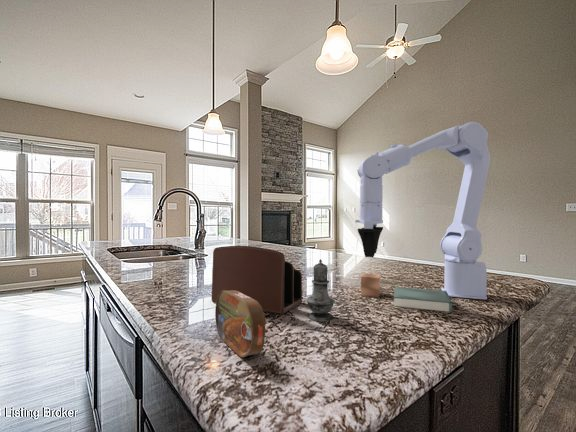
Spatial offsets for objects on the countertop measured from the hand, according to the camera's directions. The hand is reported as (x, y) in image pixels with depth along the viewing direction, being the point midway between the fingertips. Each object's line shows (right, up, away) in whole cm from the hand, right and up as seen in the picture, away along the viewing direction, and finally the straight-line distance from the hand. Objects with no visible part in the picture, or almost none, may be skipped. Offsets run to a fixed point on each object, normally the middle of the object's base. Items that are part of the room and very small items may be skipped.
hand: (370, 254), depth 82 cm
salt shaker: (-15, -11, -18) cm, 26 cm away
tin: (-30, -11, -31) cm, 45 cm away
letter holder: (-29, -11, -7) cm, 32 cm away
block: (0, -11, 0) cm, 11 cm away
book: (+10, -11, -8) cm, 17 cm away
